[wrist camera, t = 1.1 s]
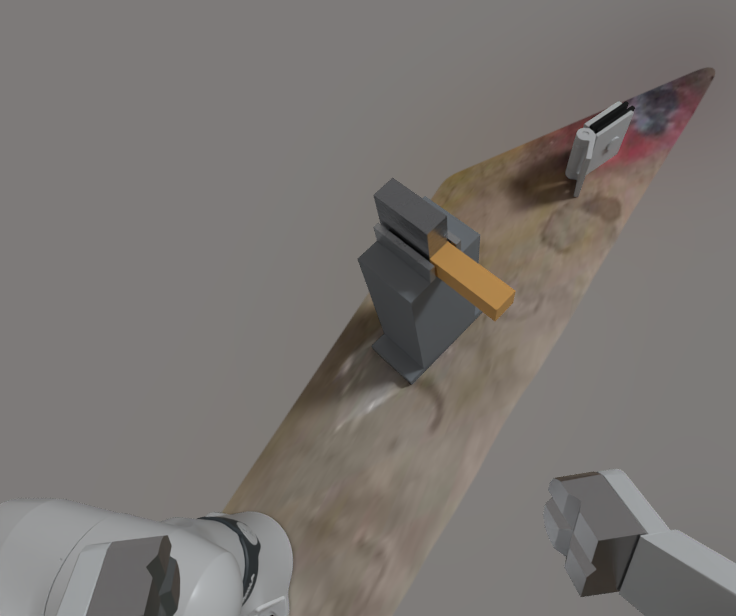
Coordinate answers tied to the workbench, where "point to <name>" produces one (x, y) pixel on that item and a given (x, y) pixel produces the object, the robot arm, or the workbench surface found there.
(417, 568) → the workbench surface
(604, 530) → the robot arm
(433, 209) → the bar
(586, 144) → the hinge
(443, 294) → the stand
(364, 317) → the workbench surface
